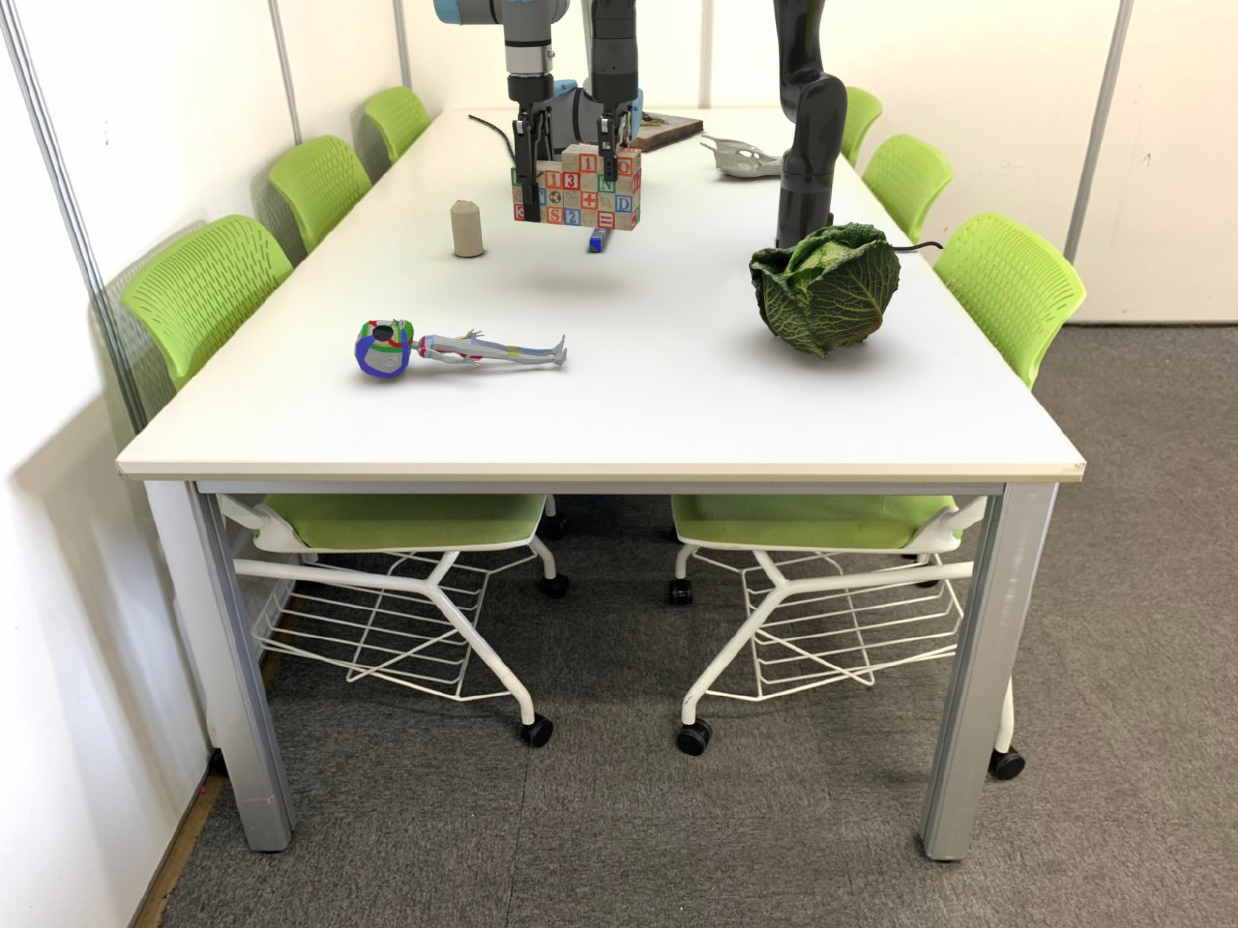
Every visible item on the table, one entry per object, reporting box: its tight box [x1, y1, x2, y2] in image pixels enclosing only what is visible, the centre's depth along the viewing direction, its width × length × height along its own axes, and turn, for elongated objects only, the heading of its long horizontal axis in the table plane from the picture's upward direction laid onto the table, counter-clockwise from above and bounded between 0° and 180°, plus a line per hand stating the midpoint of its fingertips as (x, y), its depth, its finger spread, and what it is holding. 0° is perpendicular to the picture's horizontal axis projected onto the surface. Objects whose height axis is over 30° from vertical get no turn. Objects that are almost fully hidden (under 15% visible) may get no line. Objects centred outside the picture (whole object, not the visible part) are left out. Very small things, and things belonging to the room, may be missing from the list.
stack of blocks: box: [510, 144, 642, 232], centre depth 152 cm, size 21×6×12 cm, turn 75°
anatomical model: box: [699, 133, 783, 178], centre depth 218 cm, size 15×9×25 cm
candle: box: [449, 199, 484, 258], centre depth 172 cm, size 6×6×10 cm
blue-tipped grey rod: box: [588, 228, 611, 252], centre depth 182 cm, size 2×2×20 cm
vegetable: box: [748, 221, 902, 360], centre depth 132 cm, size 20×19×20 cm
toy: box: [353, 318, 568, 379], centre depth 130 cm, size 10×8×30 cm
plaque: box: [584, 110, 705, 152], centre depth 257 cm, size 30×7×30 cm
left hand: (539, 215), depth 157 cm, fingers closed on stack of blocks, 6 cm apart
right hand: (616, 175), depth 150 cm, fingers closed on stack of blocks, 6 cm apart
